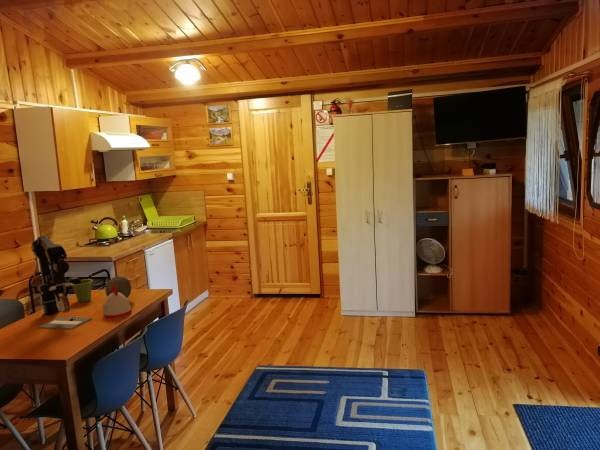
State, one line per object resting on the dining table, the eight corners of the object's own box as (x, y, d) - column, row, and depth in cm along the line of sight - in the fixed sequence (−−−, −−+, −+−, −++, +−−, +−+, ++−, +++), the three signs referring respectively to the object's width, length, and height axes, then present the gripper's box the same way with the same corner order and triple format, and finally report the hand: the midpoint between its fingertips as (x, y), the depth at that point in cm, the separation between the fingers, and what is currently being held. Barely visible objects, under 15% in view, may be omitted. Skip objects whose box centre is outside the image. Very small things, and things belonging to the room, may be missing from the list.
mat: (38, 327, 233) (38, 326, 233) (59, 318, 246) (59, 316, 246) (71, 329, 227) (71, 328, 227) (91, 319, 241) (91, 318, 241)
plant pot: (95, 295, 284) (92, 278, 282) (95, 301, 273) (92, 282, 271) (73, 299, 279) (70, 281, 278) (72, 304, 268) (70, 285, 267)
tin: (71, 313, 231) (69, 296, 230) (64, 314, 229) (63, 297, 228) (61, 307, 242) (60, 291, 241) (55, 308, 240) (54, 292, 239)
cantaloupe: (101, 305, 264) (98, 279, 261) (122, 297, 276) (119, 273, 273) (117, 308, 256) (114, 281, 254) (138, 300, 268) (135, 275, 266)
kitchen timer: (126, 307, 256) (123, 281, 254) (135, 313, 246) (131, 285, 243) (100, 314, 248) (96, 287, 246) (108, 320, 237) (104, 291, 235)
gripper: (72, 264, 245) (76, 293, 247) (32, 272, 232) (37, 302, 235) (79, 267, 237) (83, 297, 239) (38, 275, 224) (43, 306, 227)
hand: (62, 300), depth 235 cm, fingers closed on tin, 3 cm apart
